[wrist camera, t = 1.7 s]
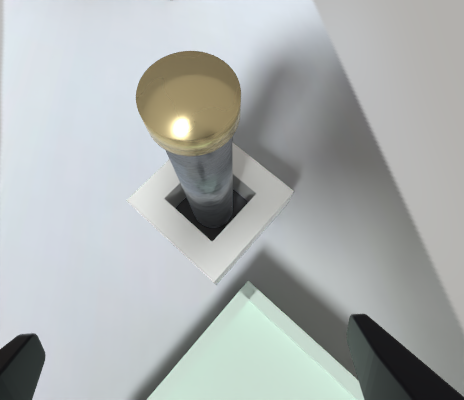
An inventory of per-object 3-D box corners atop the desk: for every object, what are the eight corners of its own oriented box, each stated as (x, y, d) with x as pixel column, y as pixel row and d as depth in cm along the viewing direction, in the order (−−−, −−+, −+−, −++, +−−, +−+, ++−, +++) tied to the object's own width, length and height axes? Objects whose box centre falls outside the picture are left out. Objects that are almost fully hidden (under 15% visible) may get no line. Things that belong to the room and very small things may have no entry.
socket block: (216, 285, 22) (213, 282, 20) (138, 212, 24) (126, 200, 21) (287, 204, 24) (294, 191, 21) (210, 142, 26) (207, 122, 23)
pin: (214, 241, 23) (189, 160, 10) (179, 210, 24) (113, 96, 11) (246, 206, 24) (262, 89, 11) (212, 177, 25) (187, 34, 12)
